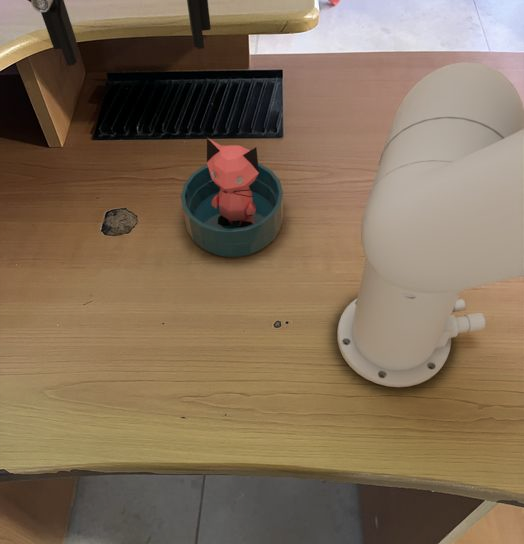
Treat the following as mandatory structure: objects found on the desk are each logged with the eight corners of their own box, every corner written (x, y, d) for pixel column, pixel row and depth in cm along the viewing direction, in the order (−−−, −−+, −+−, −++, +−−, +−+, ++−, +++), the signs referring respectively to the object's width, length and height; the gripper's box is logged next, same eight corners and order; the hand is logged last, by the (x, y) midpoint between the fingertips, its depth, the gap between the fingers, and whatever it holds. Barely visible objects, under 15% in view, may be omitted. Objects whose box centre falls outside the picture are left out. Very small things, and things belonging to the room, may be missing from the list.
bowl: (272, 181, 79) (272, 152, 74) (291, 250, 72) (291, 222, 68) (182, 195, 78) (176, 166, 74) (192, 265, 71) (186, 238, 67)
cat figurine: (203, 231, 74) (191, 156, 63) (221, 194, 77) (212, 117, 67) (255, 242, 72) (251, 168, 62) (271, 205, 76) (270, 128, 65)
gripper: (-125, -239, 27) (19, 92, 41) (240, -273, 28) (254, 61, 42) (-101, -283, 30) (23, 34, 45) (219, -311, 32) (239, 7, 46)
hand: (135, 47), depth 44 cm, fingers open, 9 cm apart
